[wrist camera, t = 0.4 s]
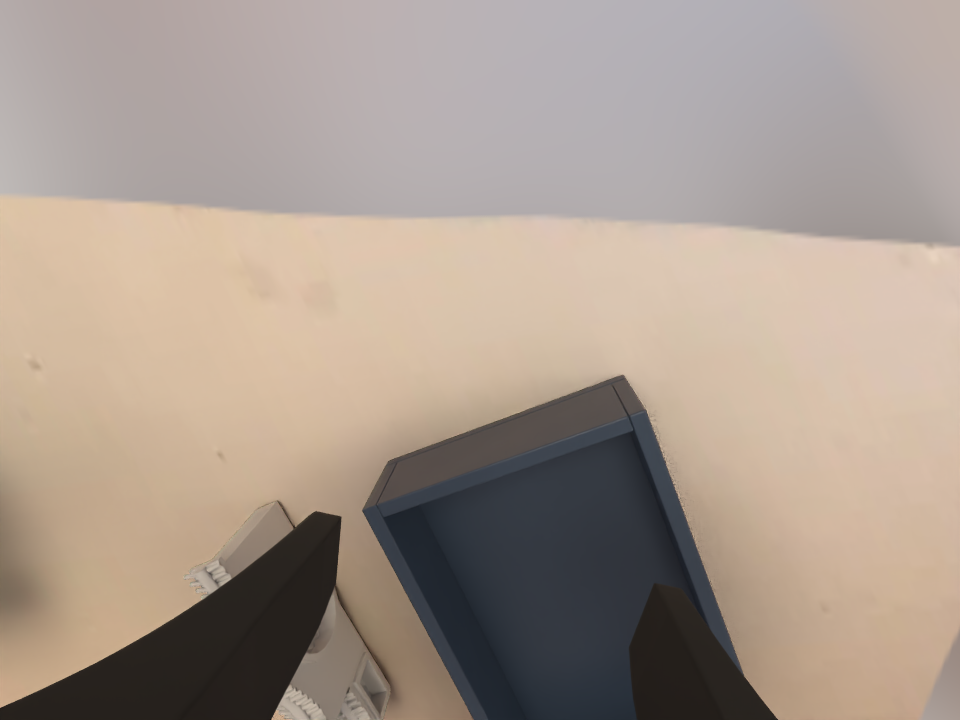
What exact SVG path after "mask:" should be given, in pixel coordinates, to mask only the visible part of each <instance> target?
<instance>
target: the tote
mask: <svg viewBox="0 0 960 720" xmlns="http://www.w3.org/2000/svg"><path fill="white" fill-rule="evenodd" d="M362 511H363V513H364V515H365V517H366V519H367V520H368V522H369V524H370V526H371V528H372V530H373V532H374V534H375V535H376V537H377V539H378V541H379V543H380V545H381V547H382V549H383V550H384V552H385V554H386V556H387V558H388V560H389V562H390V564H391V565H392V567H393V569H394V571H395V573H396V575H397V577H398V579H399V580H400V582H401V584H402V586H403V588H404V590H405V592H406V594H407V595H408V597H409V599H410V601H411V603H412V605H413V607H414V609H415V610H416V612H417V614H418V616H419V618H420V620H421V622H422V624H423V625H424V627H425V629H426V631H427V633H428V635H429V637H430V639H431V640H432V642H433V644H434V646H435V648H436V650H437V652H438V654H439V655H440V657H441V659H442V661H443V663H444V665H445V667H446V669H447V670H448V672H449V674H450V676H451V678H452V680H453V682H454V684H455V685H456V687H457V689H458V691H459V693H460V695H461V697H462V699H463V700H464V702H465V704H466V706H467V708H468V710H469V712H470V714H471V715H472V717H473V719H474V720H637V717H636V711H635V706H634V701H633V693H632V683H631V671H630V656H629V646H630V643H631V641H632V638H633V636H634V633H635V630H636V628H637V625H638V623H639V620H640V618H641V615H642V613H643V610H644V608H645V605H646V602H647V600H648V597H649V595H650V592H651V590H652V587H653V585H654V583H658V584H663V585H667V586H672V587H677V588H681V589H682V590H683V591H684V593H685V594H686V596H687V597H688V598H689V600H690V601H691V603H692V604H693V605H694V607H695V608H696V610H697V611H698V613H699V614H700V616H701V617H702V618H703V620H704V621H705V623H706V624H707V626H708V627H709V628H710V630H711V631H712V633H713V634H714V636H715V637H716V638H717V640H718V641H719V643H720V644H721V645H722V647H723V648H724V650H725V651H726V652H727V654H728V655H729V657H730V658H731V659H732V661H733V662H734V663H735V665H736V666H737V668H738V669H739V670H740V672H741V673H742V674H743V672H742V669H741V666H740V663H739V661H738V658H737V655H736V653H735V650H734V647H733V644H732V642H731V639H730V636H729V634H728V631H727V628H726V625H725V623H724V620H723V617H722V615H721V612H720V609H719V607H718V604H717V601H716V598H715V596H714V593H713V590H712V588H711V585H710V582H709V579H708V577H707V574H706V571H705V569H704V566H703V563H702V560H701V558H700V555H699V552H698V550H697V547H696V544H695V542H694V539H693V536H692V533H691V531H690V528H689V525H688V523H687V520H686V517H685V514H684V512H683V509H682V506H681V504H680V501H679V498H678V495H677V493H676V490H675V487H674V485H673V482H672V479H671V477H670V474H669V471H668V468H667V466H666V463H665V460H664V458H663V455H662V452H661V449H660V447H659V444H658V441H657V439H656V436H655V433H654V430H653V428H652V425H651V422H650V420H649V417H648V414H647V412H646V410H645V408H644V407H643V405H642V403H641V402H640V400H639V399H638V397H637V395H636V394H635V392H634V391H633V389H632V388H631V386H630V384H629V383H628V381H627V380H626V378H625V376H624V375H621V376H618V377H616V378H613V379H610V380H607V381H605V382H602V383H599V384H597V385H594V386H591V387H588V388H586V389H583V390H580V391H578V392H575V393H572V394H569V395H567V396H564V397H561V398H559V399H556V400H553V401H550V402H548V403H545V404H542V405H540V406H537V407H534V408H531V409H529V410H526V411H523V412H521V413H518V414H515V415H512V416H510V417H507V418H504V419H502V420H499V421H496V422H493V423H491V424H488V425H485V426H482V427H480V428H477V429H474V430H472V431H469V432H466V433H463V434H461V435H458V436H455V437H453V438H450V439H447V440H444V441H442V442H439V443H436V444H434V445H431V446H428V447H425V448H423V449H420V450H417V451H415V452H412V453H409V454H406V455H404V456H401V457H398V458H396V459H393V460H390V461H388V463H387V465H386V467H385V468H384V470H383V472H382V474H381V476H380V478H379V480H378V481H377V483H376V485H375V487H374V489H373V491H372V493H371V495H370V496H369V498H368V500H367V502H366V504H365V506H364V508H363V510H362ZM743 676H744V674H743Z"/></svg>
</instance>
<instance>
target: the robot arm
mask: <svg viewBox="0 0 960 720" xmlns="http://www.w3.org/2000/svg"><path fill="white" fill-rule="evenodd" d="M340 529H341V517H340V516H336V515H331V514H326V513H322V512H317V511H316V512H314V513H312V514H311V515H309V516H308V517H307V518H306V519H305V520H304V521H303V522H301V523H300V524H299V525H298V526H297V527H296V528H294V529H293V530H292V531H291V532H290V533H289V534H287V535H286V536H285V537H284V538H283V539H281V540H280V541H279V542H278V543H277V544H275V545H274V546H273V547H272V548H271V549H269V550H268V551H267V552H266V553H264V554H263V555H262V556H261V557H259V558H258V559H257V560H255V561H254V562H253V563H252V564H250V565H249V566H248V567H247V568H245V569H244V570H243V571H241V572H240V573H239V574H237V575H236V576H235V577H233V578H232V579H231V580H229V581H228V582H226V583H225V584H224V585H222V586H221V587H219V588H218V589H217V590H215V591H214V592H212V593H211V594H210V595H208V596H207V597H205V598H204V599H203V600H201V601H200V602H198V603H197V604H195V605H194V606H192V607H191V608H189V609H188V610H186V611H185V612H183V613H181V614H180V615H178V616H177V617H175V618H174V619H172V620H170V621H169V622H167V623H166V624H164V625H162V626H161V627H159V628H157V629H156V630H154V631H152V632H151V633H149V634H147V635H146V636H144V637H142V638H140V639H139V640H137V641H135V642H133V643H131V644H130V645H128V646H126V647H124V648H123V649H121V650H119V651H117V652H115V653H114V654H112V655H110V656H108V657H106V658H104V659H102V660H101V661H99V662H97V663H95V664H93V665H91V666H89V667H87V668H85V669H83V670H81V671H79V672H77V673H75V674H73V675H71V676H69V677H66V678H64V679H62V680H60V681H58V682H56V683H54V684H52V685H50V686H48V687H46V688H44V689H42V690H39V691H37V692H35V693H33V694H31V695H28V696H26V697H24V698H22V699H20V700H17V701H15V702H13V703H10V704H8V705H6V706H4V707H1V708H0V720H271V719H272V717H273V715H274V713H275V711H276V709H277V707H278V705H279V703H280V701H281V700H282V698H283V696H284V694H285V692H286V690H287V688H288V686H289V684H290V682H291V680H292V679H293V677H294V675H295V673H296V671H297V669H298V667H299V665H300V663H301V661H302V659H303V658H304V656H305V654H306V652H307V650H308V648H309V646H310V644H311V642H312V640H313V638H314V636H315V634H316V632H317V630H318V628H319V626H320V623H321V621H322V618H323V616H324V614H325V611H326V609H327V606H328V603H329V601H330V598H331V595H332V593H333V590H334V588H335V585H336V576H337V565H338V553H339V541H340ZM629 656H630V671H631V683H632V693H633V701H634V706H635V711H636V717H637V720H778V719H777V718H776V717H775V716H774V714H773V713H772V712H771V711H770V709H769V708H768V707H767V706H766V704H765V703H764V702H763V701H762V699H761V698H760V697H759V695H758V694H757V693H756V691H755V690H754V689H753V688H752V686H751V685H750V684H749V682H748V681H747V680H746V678H745V677H744V676H743V674H742V673H741V672H740V670H739V669H738V668H737V666H736V665H735V663H734V662H733V661H732V659H731V658H730V657H729V655H728V654H727V652H726V651H725V650H724V648H723V647H722V645H721V644H720V643H719V641H718V640H717V638H716V637H715V636H714V634H713V633H712V631H711V630H710V628H709V627H708V626H707V624H706V623H705V621H704V620H703V618H702V617H701V616H700V614H699V613H698V611H697V610H696V608H695V607H694V605H693V604H692V603H691V601H690V600H689V598H688V597H687V596H686V594H685V593H684V591H683V590H682V589H681V588H677V587H672V586H667V585H663V584H658V583H654V585H653V587H652V590H651V592H650V595H649V597H648V600H647V602H646V605H645V608H644V610H643V613H642V615H641V618H640V620H639V623H638V625H637V628H636V630H635V633H634V636H633V638H632V641H631V643H630V646H629Z"/></svg>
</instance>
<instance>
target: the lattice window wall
mask: <svg viewBox="0 0 960 720" xmlns="http://www.w3.org/2000/svg"><path fill="white" fill-rule="evenodd" d="M293 529H294V528H293V526H292V525H291V523H290V521H289V520H288V518H287V516H286V515H285V513H284V512H283V510H282V508H281V507H280V505H279V503H278V502H277V501H275V502H273V503H270V504H268V505H265V506H263V507H261V508H258V509H256V510H255V512H254V513H253V514H252V515H251V516H250V517H249V518H248V519H247V521H246V522H245V523H244V524H243V525H242V526H241V527H240V528H239V530H238V531H237V532H236V533H235V534H234V535H233V536H232V537H231V539H230V540H229V541H228V542H227V543H226V544H225V545H224V546H223V548H222V549H221V550H220V551H219V552H218V553H217V554H216V555H215V557H214V558H213V559H212V560H211V561H208V562H205V563H203V564H200V565H198V566H195V567H193V568H191V569H190V570H189V573H190V574H187V575H184V579H185V580H186V579H193V578H195V582H191V583H190V586H191V587H194V586H201V588H198V589H196V593H203V592H207V594H204V595H202V596H201V599H204V598H205V597H207V596H208V595H210V594H211V593H212V592H214V591H215V590H217V589H218V588H219V587H221V586H222V585H224V584H225V583H226V582H228V581H229V580H231V579H232V578H233V577H235V576H236V575H237V574H239V573H240V572H241V571H243V570H244V569H245V568H247V567H248V566H249V565H250V564H252V563H253V562H254V561H255V560H257V559H258V558H259V557H261V556H262V555H263V554H264V553H266V552H267V551H268V550H269V549H271V548H272V547H273V546H274V545H275V544H277V543H278V542H279V541H280V540H281V539H283V538H284V537H285V536H286V535H287V534H289V533H290V532H291V531H292V530H293ZM390 688H391V687H390V685H389V683H388V682H387V680H386V679H385V677H384V675H383V674H382V672H381V670H380V669H379V667H378V665H377V664H376V662H375V661H374V659H373V657H372V656H371V654H370V652H369V651H368V649H367V647H366V646H365V644H364V642H363V641H362V639H361V637H360V636H359V634H358V632H357V631H356V629H355V628H354V626H353V624H352V623H351V621H350V619H349V618H348V616H347V614H346V613H345V611H344V610H343V608H342V606H341V605H340V603H339V601H338V598H337V594H336V590H335V588H334V590H333V593H332V595H331V598H330V601H329V603H328V606H327V609H326V611H325V614H324V616H323V618H322V621H321V623H320V626H319V628H318V630H317V632H316V634H315V636H314V638H313V640H312V642H311V644H310V646H309V648H308V650H307V652H306V654H305V656H304V658H303V659H302V661H301V663H300V665H299V667H298V669H297V671H296V673H295V675H294V677H293V679H292V680H291V682H290V684H289V686H288V688H287V690H286V692H285V694H284V696H283V698H282V700H281V701H280V703H279V705H278V707H277V709H276V710H279V715H284V718H285V719H293V720H383V718H384V715H385V711H386V707H387V704H388V700H389V696H390V692H391V691H390Z"/></svg>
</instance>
